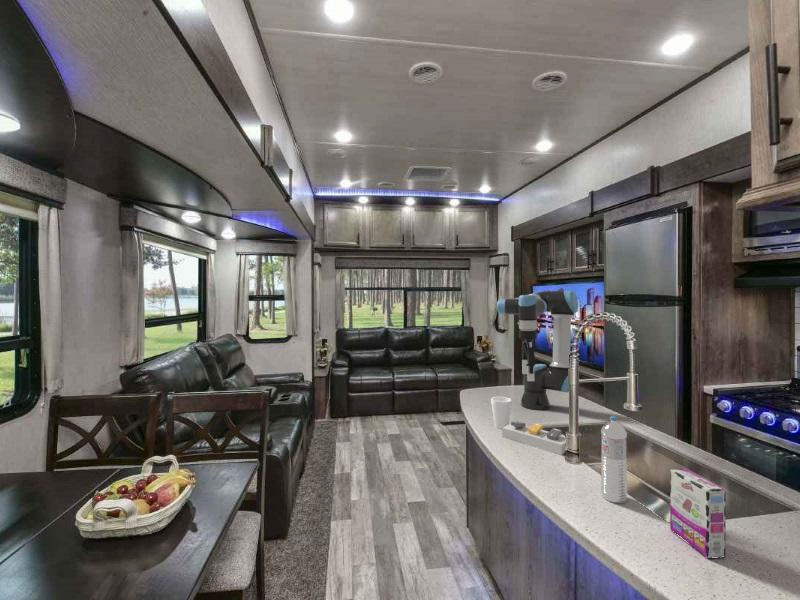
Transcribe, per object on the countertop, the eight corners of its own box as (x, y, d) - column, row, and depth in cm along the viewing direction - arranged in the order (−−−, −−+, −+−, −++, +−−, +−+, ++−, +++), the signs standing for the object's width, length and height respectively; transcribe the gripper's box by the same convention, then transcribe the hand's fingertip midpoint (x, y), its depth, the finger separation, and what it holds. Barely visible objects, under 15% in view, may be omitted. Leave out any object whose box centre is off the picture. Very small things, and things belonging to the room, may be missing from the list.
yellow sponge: (535, 426, 160) (534, 423, 159) (543, 428, 157) (542, 425, 157) (528, 432, 156) (528, 429, 155) (536, 434, 153) (536, 431, 153)
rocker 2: (553, 430, 154) (552, 427, 154) (561, 433, 151) (561, 429, 151) (546, 437, 150) (546, 434, 150) (555, 440, 147) (555, 436, 147)
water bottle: (626, 506, 108) (626, 422, 108) (600, 500, 112) (600, 418, 112) (627, 496, 114) (627, 415, 114) (601, 490, 118) (601, 412, 117)
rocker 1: (517, 424, 165) (518, 421, 166) (525, 426, 163) (525, 423, 163) (510, 425, 161) (511, 421, 161) (518, 427, 159) (518, 423, 159)
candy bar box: (727, 558, 87) (727, 489, 87) (707, 560, 86) (707, 490, 86) (686, 528, 98) (686, 467, 98) (669, 530, 98) (669, 468, 97)
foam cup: (509, 423, 179) (509, 396, 179) (513, 430, 170) (513, 402, 170) (489, 422, 180) (489, 396, 180) (492, 429, 171) (492, 401, 171)
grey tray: (513, 430, 169) (513, 420, 169) (592, 453, 145) (592, 441, 144) (502, 436, 162) (502, 426, 162) (583, 461, 138) (582, 449, 138)
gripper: (515, 327, 176) (515, 371, 177) (523, 332, 152) (523, 384, 152) (531, 327, 175) (531, 371, 175) (542, 332, 150) (543, 384, 151)
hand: (528, 377), depth 164 cm, fingers open, 13 cm apart
